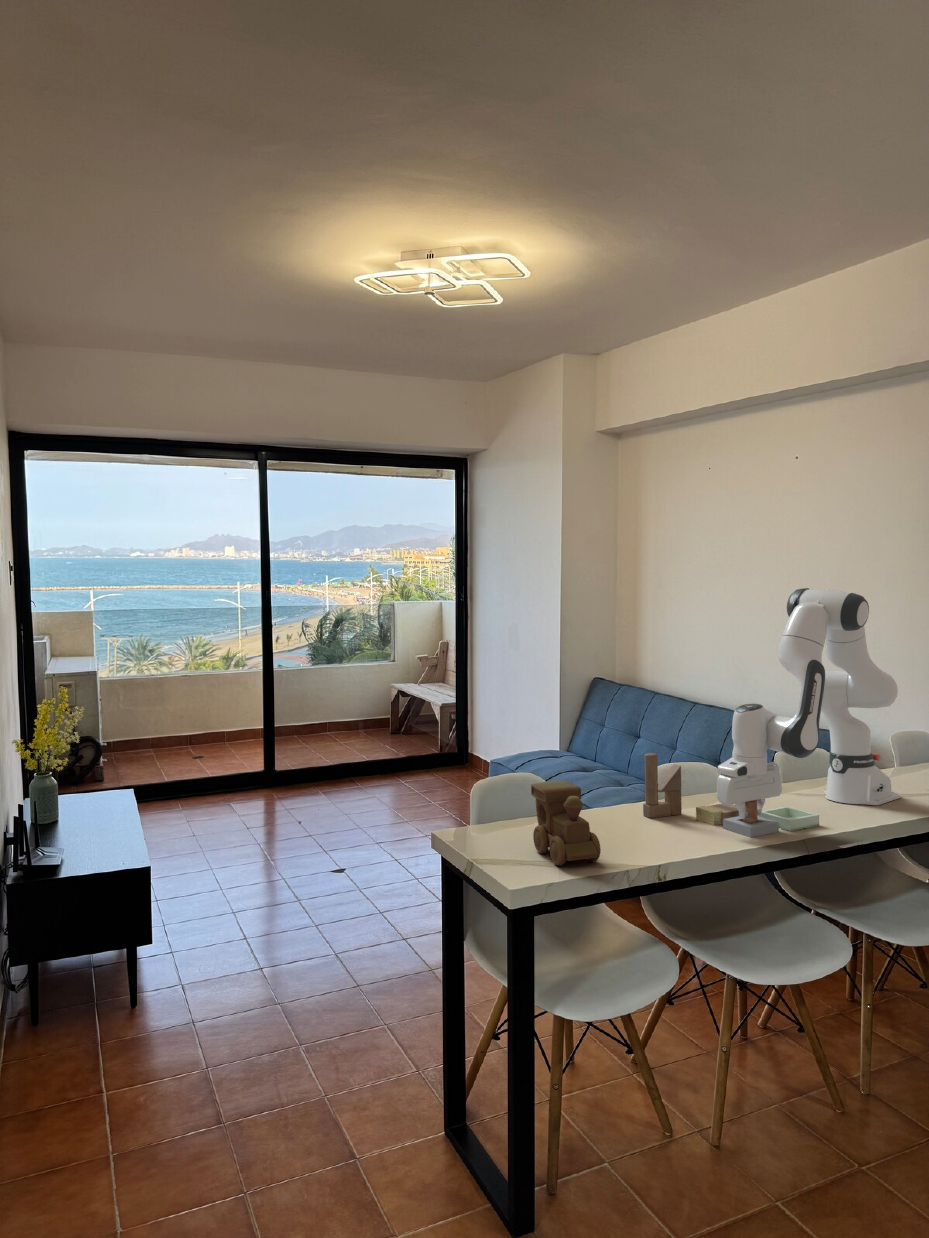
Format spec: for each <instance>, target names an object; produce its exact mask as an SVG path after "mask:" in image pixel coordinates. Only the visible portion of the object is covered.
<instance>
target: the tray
mask: <svg viewBox="0 0 929 1238" xmlns="http://www.w3.org/2000/svg"><path fill="white" fill-rule="evenodd" d="M759 817H762V818H765V819H769V820H772V821H776V822H779V828H781V829H780V830H782V831H786V832H795V830H796V831H800V830H799V829H801V830H804V829H803V828H806V829H810V828H815V826H816V827H820V814H819V813H818V814H817V813H814V812H810V811H806V810H803V809H799V808H796V807H791V806H789V805H787V806H781V807H776V808H769V809H765V810H762V815H760V816H759Z"/></svg>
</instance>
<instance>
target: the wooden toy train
mask: <svg viewBox="0 0 929 1238" xmlns="http://www.w3.org/2000/svg"><path fill="white" fill-rule="evenodd" d="M530 790H531V791H530V795H531V796H532V797H533V798H535V810H536V812H535V813H536V819H537V825H536V826H535V827H534V830H533V834H532V838H533V844H534V847H535V849H536V851H537V852H538V853H539V852H540V853H539V854H542V853H544V854H545V853H547V852H548V850H549V854H550V859H551V860H552V863H554V865H555V866H558V865H559V867H561V866H563V865H565V863H566V861H567V862H572V861H579V860H587V859H588V861H590V862H592V861H595V862H597V861H598V860H599V858H600V856H601V844H600V840H599V838H598V835H596V833H594V832H592V831H591V828H590V822H589V821H587V820H586V819H585V818H583V817H582V816H580V814H581V811H582V809H583V806H584V803H583V802H582V788H581V787H579V786H578V785H576V784H574V783H572V782H570V781H567V780H552V781H543V782H536V783H530Z"/></svg>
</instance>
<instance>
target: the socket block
mask: <svg viewBox="0 0 929 1238" xmlns="http://www.w3.org/2000/svg"><path fill="white" fill-rule="evenodd" d="M757 819H758V823H754V824H748V823H745V822H743V818H740V817H739V816H737V817H731V818H726V819H723V824H722V829H725V830H727V831H729V832H730V831H731V832H732V833H733V832H734V833H736V834H740V835H743V836H746V837H749V838H755V837H759V836H764V835H769V834H773V833H778V832H779V822H776V821H772V820H769V819H765V818H762V817H759V816H757Z"/></svg>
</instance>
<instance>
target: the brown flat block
mask: <svg viewBox="0 0 929 1238" xmlns="http://www.w3.org/2000/svg"><path fill="white" fill-rule="evenodd" d="M706 806H707V807H710V808H713V809H717V810H720V811H722V824H721V825H723V819H726V818H731V817H737V816H739V811H738V809H737V807H736V805H735V804H730V805H726V804H723V803H717V804H712V805H706Z"/></svg>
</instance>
